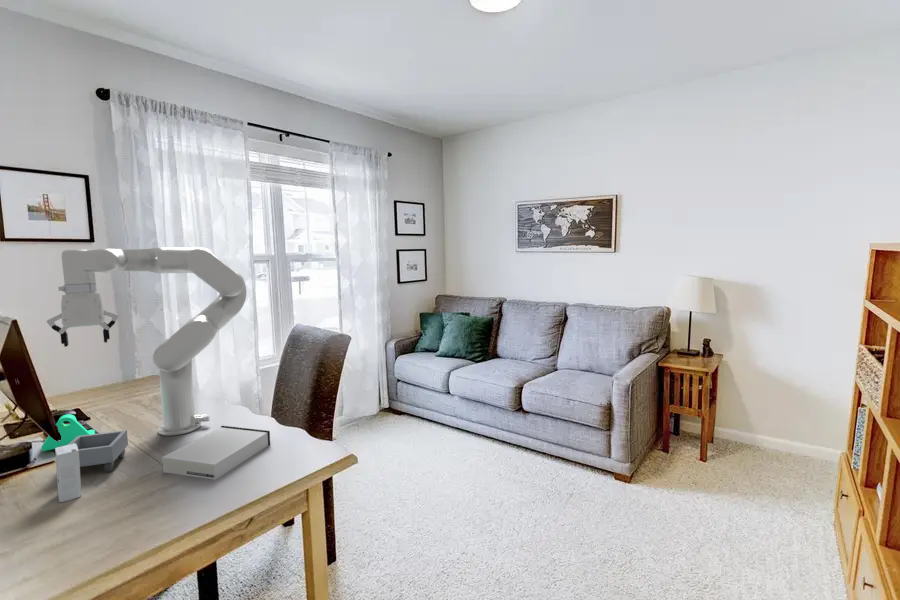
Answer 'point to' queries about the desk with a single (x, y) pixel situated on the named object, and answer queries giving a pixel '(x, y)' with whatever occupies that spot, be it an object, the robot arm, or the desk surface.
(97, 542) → the desk surface
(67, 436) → the camera mount
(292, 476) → the desk surface
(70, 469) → the skincare box
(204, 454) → the disc drive
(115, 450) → the grey square tray
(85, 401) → the desk surface
